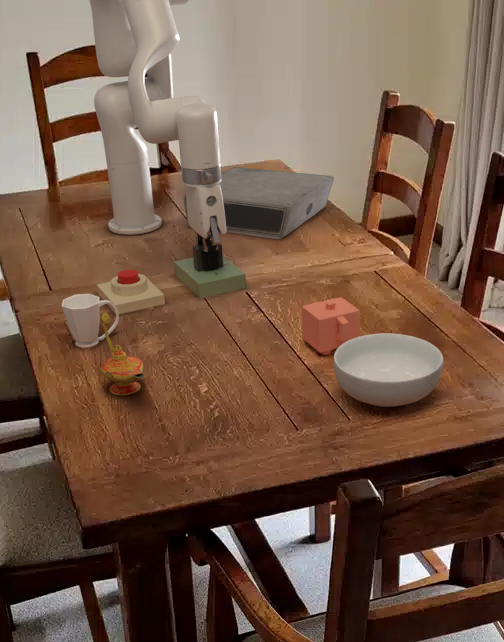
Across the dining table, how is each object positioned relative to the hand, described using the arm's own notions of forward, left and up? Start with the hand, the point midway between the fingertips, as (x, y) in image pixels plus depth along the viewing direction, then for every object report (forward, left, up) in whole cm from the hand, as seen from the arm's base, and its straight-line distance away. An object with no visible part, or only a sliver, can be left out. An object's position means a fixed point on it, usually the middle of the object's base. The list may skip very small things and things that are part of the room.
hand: (208, 265), depth 192 cm
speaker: (-31, +25, -4) cm, 40 cm away
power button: (0, -17, 0) cm, 17 cm away
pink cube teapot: (+38, +7, -4) cm, 39 cm away
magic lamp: (+37, -30, -4) cm, 48 cm away
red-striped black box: (0, 0, 0) cm, 0 cm away
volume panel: (0, 0, -3) cm, 3 cm away
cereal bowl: (+59, +6, -4) cm, 59 cm away
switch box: (0, -17, -3) cm, 17 cm away
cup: (+15, -29, -4) cm, 33 cm away
